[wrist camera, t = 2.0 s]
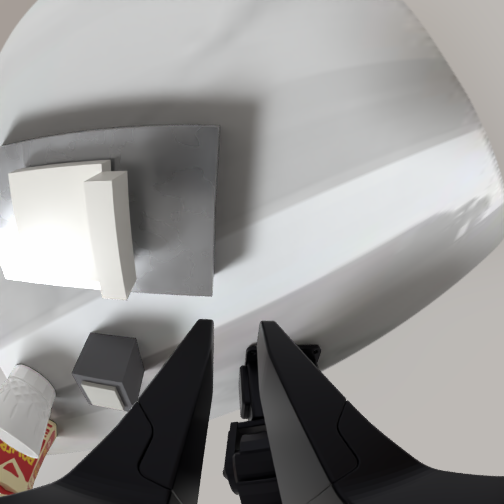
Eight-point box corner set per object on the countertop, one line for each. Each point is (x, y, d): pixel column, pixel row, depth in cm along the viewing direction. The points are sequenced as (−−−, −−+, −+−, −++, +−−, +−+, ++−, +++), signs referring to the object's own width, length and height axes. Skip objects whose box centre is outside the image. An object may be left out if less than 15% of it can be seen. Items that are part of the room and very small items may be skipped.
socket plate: (219, 125, 15) (218, 127, 13) (213, 275, 20) (212, 296, 18) (1, 145, 14) (-20, 152, 11) (20, 263, 18) (5, 278, 16)
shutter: (134, 158, 13) (111, 171, 10) (142, 274, 16) (128, 306, 13) (19, 168, 12) (-13, 183, 9) (37, 266, 15) (14, 292, 13)
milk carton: (56, 436, 34) (35, 523, 16) (15, 413, 31) (-13, 495, 13) (56, 420, 30) (29, 522, 13) (9, 393, 28) (-27, 488, 10)
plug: (135, 337, 22) (121, 386, 17) (144, 370, 24) (134, 416, 20) (90, 332, 22) (70, 376, 17) (102, 364, 24) (88, 407, 19)
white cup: (5, 351, 23) (-27, 410, 14) (55, 376, 25) (28, 443, 16) (19, 385, 26) (-4, 438, 17) (64, 406, 28) (45, 465, 19)
